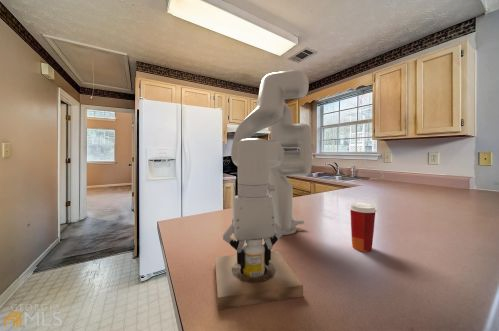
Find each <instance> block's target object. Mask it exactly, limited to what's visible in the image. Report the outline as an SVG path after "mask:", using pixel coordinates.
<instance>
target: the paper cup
mask: <svg viewBox="0 0 499 331" xmlns="http://www.w3.org/2000/svg"><path fill="white" fill-rule="evenodd" d="M348 209H349V210H350V213H349V214H350V230H351V231H350V232H351V233H350V234H351V247H352V248H353V249H354V250H356V251H358V252H363V253H370V252H372V249H373V241H374V240H373V239H374V234H375V233H374V232H375V220H376V213H377V212H378V211H377V209H376V207H375V206H374V205H373V204H369V203H363V202H355V203H351V204H350V205H349V207H348Z"/></svg>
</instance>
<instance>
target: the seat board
mask: <svg viewBox="0 0 499 331" xmlns="http://www.w3.org/2000/svg"><path fill="white" fill-rule="evenodd" d="M214 261H215V262H214V267H215V281H216V282H215V285H216V298H217V310H225V309H232V308H238V307H244V306H250V305H251V306H252V305H257V304H263V303H270V302H275V301H281V300H282V301H283V300H288V299H294V298H295V299H296V298H302V297H304V284H303V283H302V282H301V280H300V279H299V278H298V276H297V275H296V274H295V271H293V269H292V268H291V266H290V265H289V264H288V262H287V261H286V260H285V259H284V257H283V256H282V254H281V253H280V252H279V250H271V260H269V266H266V265H265V275H263V276H261V277H256V278H251V277H246V276H245V275H243V269H241V266H240V264H238V263H237V254H234V255H224V256H215V257H214Z"/></svg>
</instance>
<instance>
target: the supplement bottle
mask: <svg viewBox="0 0 499 331" xmlns="http://www.w3.org/2000/svg"><path fill="white" fill-rule="evenodd" d="M243 251H244V269H243V275H245V276H246V277H251V278H256V277H261V276H263V275H265V247H264V246H263V239H253V240H245V243H244V246H243Z"/></svg>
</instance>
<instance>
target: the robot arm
mask: <svg viewBox="0 0 499 331" xmlns="http://www.w3.org/2000/svg"><path fill="white" fill-rule="evenodd" d="M309 84H310V83H309V78H308V76H307V74H306V72H304V71H303V70H301V69H293V70H286V71H285V70H284V71H278V72H271V73H268V74H266V75H265V76H264V77H263V78H262V79H261V82H260V85H259V90H258V91H259V92H258V95H257V101H256V106H255V109H254V110H253V111H251V112H250V113H249V114H248V115H247V116H246V117H245V118H244V119H243V120H242V121H241V122H240V123H239V125H238V126H237V128H236V130H235V132H234V136H233V140H232V145H231V151H230V156H231V157H230V158H231V161H232V163H233V164H234V165H235V166H236V167H237V195H234V197H233V204H232V213H231V214H232V216H231V224H230V226H228V228H227V229H226V231H225V232H224V233H223V234H222V239H223V241H225V242H226V243H227V244H228V245H230V246H231V247H232V248H233V249H234V250H235V251H236V255H237V263H238V264H240V266H241V269H244V251H243V247H244V245H245V243H246V240H253V239H262V240H263V242H264V243H262V245H263V246H264V247H265V265H266V266H269V260H271V251H272V249H273V246H274V245H275V244H276V243H277V241H278V240H279V239H280V238H281V237H282V236H289V235H292V234H294V233H296V232H297V227H296V226H298V225H299V226H302V225H304V224H305V221H304V219H298V218H293V216H294V215H293V214H294V213H293V202H294V200H293V194H294V193H293V190H294V189H293V185H292V183H291V181H290V180H289V179H288V177H307V176H309V175H310V174H311V172H312V167H313V166H312V162H313V160H312V158H313V155H312V154H313V148H312V147H313V146H312V145H313V141H312V140H313V138H312V136H313V135H312V129H311V127H310V125H309V124H307V123H304V122H303V123H293V112H292V109H291V107H289V105H288V104H287V103H286V102H285V100H290V99H303V98H305V97H306V96H307V95H308V92H309V86H310V85H309ZM268 127H269V128H270V139H265V138H256V137H255V138H252V137H253V136H254V135H256V134H257V133H258V132H260V131H263V130H265V129H267V128H268ZM285 149H298V150H299V151H285ZM232 235H233V237H234V238H233V237H231V236H232Z"/></svg>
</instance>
